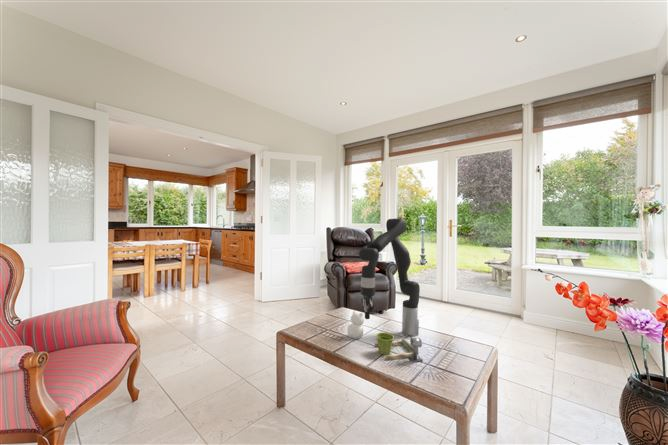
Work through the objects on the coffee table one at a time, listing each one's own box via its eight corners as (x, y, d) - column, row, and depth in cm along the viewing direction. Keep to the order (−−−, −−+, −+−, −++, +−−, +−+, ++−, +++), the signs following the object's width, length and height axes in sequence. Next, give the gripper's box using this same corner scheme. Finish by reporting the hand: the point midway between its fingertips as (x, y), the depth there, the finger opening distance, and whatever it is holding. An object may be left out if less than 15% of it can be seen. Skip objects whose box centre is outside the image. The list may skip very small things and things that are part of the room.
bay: (403, 343, 153) (403, 338, 153) (418, 356, 138) (418, 350, 138) (374, 346, 149) (374, 340, 149) (386, 359, 134) (386, 353, 134)
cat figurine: (366, 336, 162) (367, 312, 162) (354, 342, 153) (355, 316, 153) (355, 332, 168) (356, 308, 168) (342, 337, 159) (343, 312, 159)
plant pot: (395, 350, 144) (395, 334, 144) (391, 358, 135) (391, 341, 136) (378, 347, 148) (378, 331, 148) (373, 354, 139) (374, 337, 140)
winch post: (417, 356, 138) (417, 331, 138) (422, 361, 133) (423, 335, 133) (404, 357, 136) (405, 332, 136) (409, 362, 131) (410, 336, 132)
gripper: (379, 288, 134) (378, 322, 134) (370, 282, 147) (369, 314, 147) (365, 288, 132) (364, 323, 132) (357, 283, 145) (356, 314, 145)
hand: (367, 318), depth 139 cm, fingers closed
